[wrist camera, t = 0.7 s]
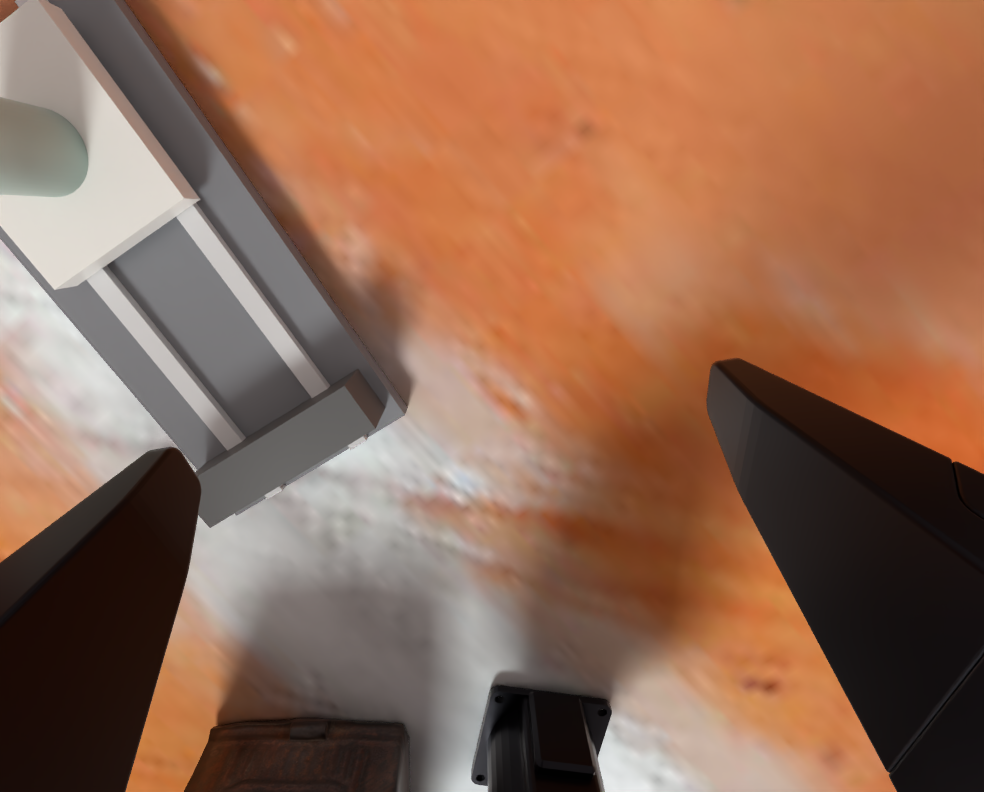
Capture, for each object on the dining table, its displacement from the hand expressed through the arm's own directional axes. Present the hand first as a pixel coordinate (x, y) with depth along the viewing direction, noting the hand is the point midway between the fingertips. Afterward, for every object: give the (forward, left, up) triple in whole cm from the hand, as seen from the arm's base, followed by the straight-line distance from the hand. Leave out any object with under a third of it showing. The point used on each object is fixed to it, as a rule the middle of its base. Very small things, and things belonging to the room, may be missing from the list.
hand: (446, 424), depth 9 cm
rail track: (-1, +11, -15) cm, 19 cm away
